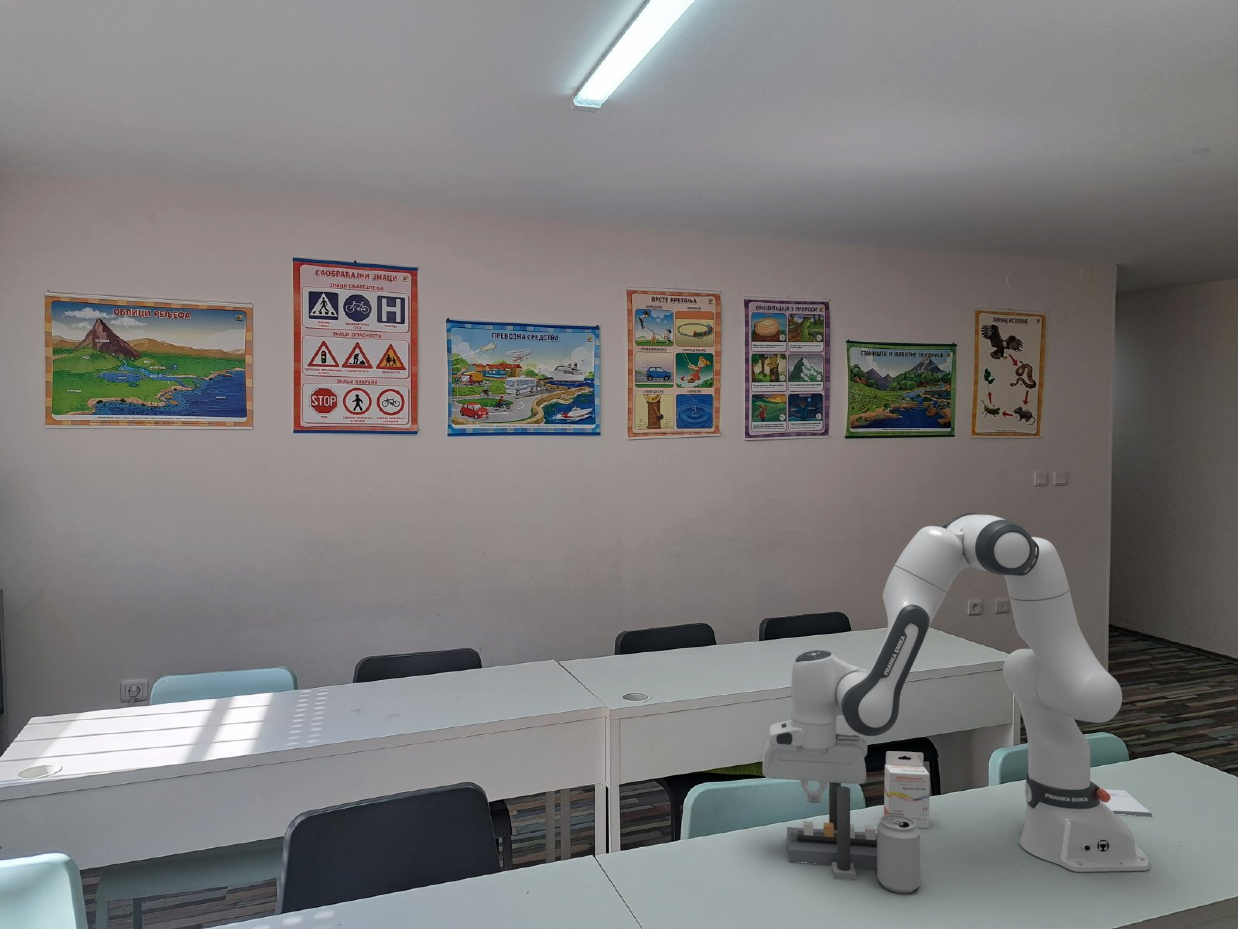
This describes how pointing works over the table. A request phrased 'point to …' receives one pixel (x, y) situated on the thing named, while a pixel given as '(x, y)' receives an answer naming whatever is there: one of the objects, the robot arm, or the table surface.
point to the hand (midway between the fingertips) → (813, 801)
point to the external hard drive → (1125, 804)
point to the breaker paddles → (831, 836)
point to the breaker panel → (828, 850)
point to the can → (898, 853)
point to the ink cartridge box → (907, 787)
